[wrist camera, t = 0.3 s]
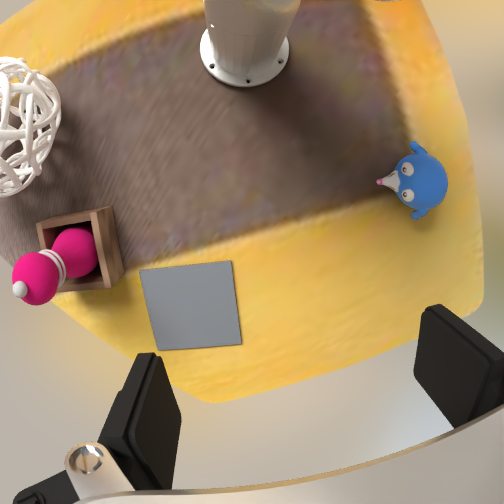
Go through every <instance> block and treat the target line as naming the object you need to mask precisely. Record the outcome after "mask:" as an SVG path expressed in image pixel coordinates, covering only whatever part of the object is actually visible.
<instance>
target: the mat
mask: <svg viewBox="0 0 504 504" xmlns="http://www.w3.org/2000/svg"><path fill="white" fill-rule="evenodd" d="M139 273H140V278H141V283H142V288H143V292H144V296H145V301H146V305H147V309H148V313H149V318H150V322H151V326H152V329H153V333H154V337H155V341H156V345H157V348H158V350H172V349H187V348H200V347H212V346H223V345H234V344H241V335H240V328H239V320H238V312H237V305H236V297H235V289H234V281H233V273H232V265H231V260H229V261H220V262H211V263H201V264H192V265H183V266H174V267H164V268H155V269H146V270H140V271H139Z"/></svg>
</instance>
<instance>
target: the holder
mask: <svg viewBox="0 0 504 504" xmlns="http://www.w3.org/2000/svg"><path fill="white" fill-rule="evenodd" d="M90 220H91V223H92V229H93V234H94V239H95V244H96V249H97V254H98V259H99V263H100V268H101V270H95V271H91V272H90V273H88V274H87V275H85V276H82V277H77V278H70V277H66V278H65V281H64V283H63V284H62V285H61V286H60V287H59V288H58V289H57V291H56V292H69V291H81V290H93V289H104V288H112V287H113V286H114V285H115V284H116V282H117V281H118V280H119V279H120V278H121V277H122V276H123V275H124V274H125V273H124V269H123V264H122V259H121V254H120V249H119V244H118V238H117V233H116V227H115V221H114V215H113V209H112V206H108V207H102V208H96V209H91V210H85V211H80V212H75V213H69V214H64V215H59V216H55V217H52V218H49V219H46V220H44V221H41V222H38V223H36V227H37V232H38V237H39V242H40V247H41V251H42V250H45V249H48V250H51V249H52V247H53V244H54V242H55V240H56V238H57V237H58V236H59V235H60V233H62V232H63V228H62V225H67V224H73V223H78V222H84V221H90Z"/></svg>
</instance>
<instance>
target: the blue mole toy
mask: <svg viewBox="0 0 504 504" xmlns="http://www.w3.org/2000/svg"><path fill="white" fill-rule="evenodd" d="M410 148H411V150H412V151H414V152H415V154H411V155H407V156H405V157H404V158H402V159H401V160H400V161H399V163H398V164H397V166H396V167H395V169H394V171H393V172H392V173H391V174H390V175H388V176H386V177H384V178H382V179H377V181H376V182H377V184H379V185H381V184H382V185H385V186H387V187H389V188H391V189H392V190H394V191H395V193H396V194H397V196H398V198H399V199H400V200H401V201H402V202H403V203H404V204H405V205H407V206H408V207H410V208H413V209H416V210H415V211H413V212H412V214H411V218H412V219H414V220H418V219H419V218H420V217H423V216H424V215H426V214H427V212H428V210H429V209H431V208H434V207H436V206H437V205H438V204H440V203H441V202H442V200H443V199H444V197H445V195H446V192H447V187H448V179H447V174H446V171H445V169H444V167H443V166H442V164H441V163H440V162H439V161H438V160H437V159H436V158H434V157H432V156H430V155H428V154H427V152H426V151H425V150H424V149H423V148H422V147H421V146H419V145H418V144H417V143H416V142H415V141H414V142H411V143H410Z"/></svg>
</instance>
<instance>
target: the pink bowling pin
mask: <svg viewBox="0 0 504 504" xmlns="http://www.w3.org/2000/svg"><path fill="white" fill-rule="evenodd" d="M98 261H99V259H98V254H97V249H96V244H95V239H94V234H93V229H92V226H91V225H82V226H80V227H70V228H68V229H66V230H64V231H63V232H62V233H60V235H59V236H58V237H57V238H56V240H55V242H54V244H53V247H52V249H51V250H48V249H45V250H42V251H40V252H38V253H37V252H31V253H28V254H25V255H24V256H22V257H21V258H20V259H19V260H18V261H17V263H16V264H15V266H14V269H13V273H12V281H13V293H14V294H15V296H16V297H18V298H21V299H22V300H23V301H25V302H26V303H28V304H31V305H42V304H44V303H47V302H48V301H50V300H51V299H52V298H53V297H54V295H55V293H56V291H57V289H58V288H59V287H60V286H61V285H62V284H63V283H64V281H65V278H66V277H70V278H77V277H82V276H85V275H87V274H88V273H90V272H91V271H92V270H93V269H94V268H95V266H96V265H97V262H98Z"/></svg>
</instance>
